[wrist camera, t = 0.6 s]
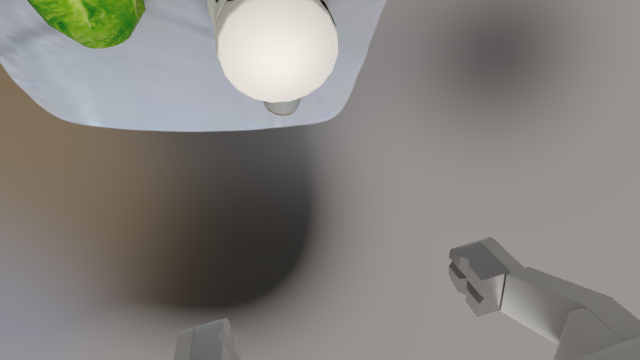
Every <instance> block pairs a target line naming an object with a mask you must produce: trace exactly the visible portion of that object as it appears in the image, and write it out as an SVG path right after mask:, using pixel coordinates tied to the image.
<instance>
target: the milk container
mask: <svg viewBox="0 0 640 360" xmlns="http://www.w3.org/2000/svg"><path fill="white" fill-rule="evenodd" d="M207 5H208V10H209V14H210V17H211V20H212V22H213V24H214V26H215V39H216V52H217V56H218V58H219V61H220V63H221V66H222V69H223V71H224V74H225V76H226V77H227V78H228V80H229V81H230V82H231V83H232V84H233V85H234V86H235V87H236V88H237V90H239V91H241V92H242V93H244V94H246V95H248V96H250V97H251V98H253V99H257V100H261V101H266V102H271V103H274V102H290V101H292V100H295V99H298V98H301V97H304V96H307V95H308V94H310V93H311V92H312V91H314V90H315V89H317V88H318V87H320V86H321V85H322V84H323V82H324V81H325V80H326V79H327V77H328V76H329V75H330V73H331V72H332V70H333V67H334V65H335V62H336V59H337V56H338V37H337V29H336V25H335V23H334V21H333V18H332V15H331V11H330V9H329V6H328V4H327V2H326V0H207Z"/></svg>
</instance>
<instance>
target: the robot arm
mask: <svg viewBox="0 0 640 360" xmlns="http://www.w3.org/2000/svg"><path fill="white" fill-rule="evenodd" d="M449 257H450V259H451V260H452V262H451V264H450V265H449V274H450V277H451V280H452V282H453V284H454V286H455V287H456V289H457V290H458V291H459V292H461V293H463V294H465V295H466V302H467V303H468V305H469V306H470V307H471V309H472V310H473V311H474V313H475V314H476V315H477V316H481V315H485V314H488V313H492V312H495V311H498V310H501V312H503V313H505V314H506V315H508V316H510V317H512V318H513V319H515V320H516V321H518V322H520V323H522V324H523V325H525V326H527V327H528V328H530V329H532V330H534V331H535V332H537V333H539V334H540V335H542V336H544V337H545V338H547V339H549V340H551V341H552V342H554V343H556V344H558V347H557V350H556V353H555V356H554V360H640V320H639V319H637V318H636V317H635V316H634V315H632V314H631V313H630V312H629V311H627V310H626V309H625V308H624V307H622V306H621V305H620V304H619V303H618V302H616V301H615V300H614V299H613V298H611V297H609V296H606V295H604V294H601V293H598V292H595V291H593V290H590V289H587V288H585V287H582V286H579V285H576V284H574V283H571V282H568V281H566V280H563V279H560V278H558V277H555V276H552V275H550V274H547V273H544V272H541V271H539V270H536V269H533V268H531V267H527V268H524V267H523V266H522V265H521V264H520V263H519V262H518V261H517V260H516V259H515V258H514V257H513V256H511V254H510V253H508V252H507V251H506V250H505V249H504V248H503V247H502V246H501V245H500V244H499V243H498V242H497V241H496V240H494V239H493V238H491V237H489V238H486V239H483V240H479V241H477V242H472V243H469V244H466V245H463V246H460V247H456V248H453V249H451V250H450V254H449ZM174 360H240V348H239V342H238V339H237V336H236V334H235V332H233V331H231V330H230V323H229V321H228V319H227V318H224V319H221V320H217V321H213V322H210V323H206V324H203V325H199V326H196V327H192V328H189V329H185V330H182V331H180V333H179V335H178V339H177V344H176V350H175V355H174Z"/></svg>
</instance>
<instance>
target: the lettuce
mask: <svg viewBox="0 0 640 360" xmlns="http://www.w3.org/2000/svg"><path fill="white" fill-rule="evenodd" d="M27 1H28V2H29V3H30V4H31V5H32V6H33V8H34V9H35V10H36V11H37V12H38V13H39V14H40V15H41V17H42V18H43V19H44V20H45V21H46V22H47V23H48V25H50V26H51V27H53V28H55V29H56V30H58V31H60V32H61V33H63V34H65V35H67V36H68V37H70V38H72V39H73V40H75V41H77V42H79V43H80V44H82V45H84V46H86V47H90V48H107V47H113V46H115V45H118V44H120V43H123V42H124V41H125V40H127V39H128V38H129V37H130V36H131V34H132V32H133V30H134V29H135V27H136V25H137V23H138V22H139V20H140V18H141V17H142V15H143V13H144V11H145V6H144V1H143V0H27Z"/></svg>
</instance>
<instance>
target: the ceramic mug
mask: <svg viewBox="0 0 640 360" xmlns="http://www.w3.org/2000/svg"><path fill="white" fill-rule="evenodd" d="M301 98H302V97H301ZM301 98H298V99H295V100H292V101H290V102H274V103H271V102H266V101H264V105H265V107H266V108H267V109H268V110H269V111H270V112H272V113H274V114H276V115H290V114H292V113H293V112H294V111H295V110H296V109H297V107H298V105H299V103H300V99H301Z"/></svg>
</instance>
